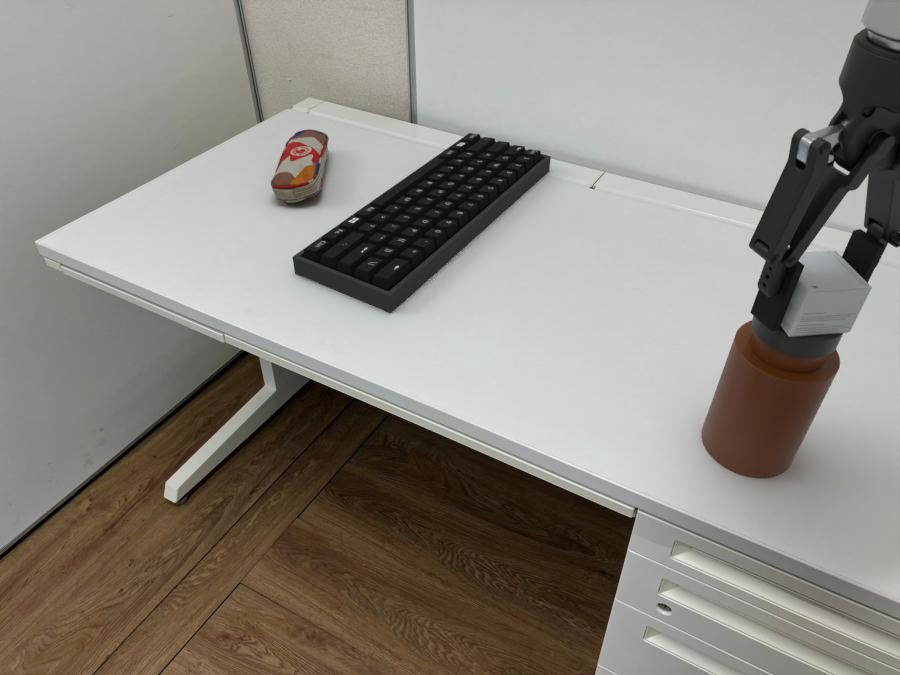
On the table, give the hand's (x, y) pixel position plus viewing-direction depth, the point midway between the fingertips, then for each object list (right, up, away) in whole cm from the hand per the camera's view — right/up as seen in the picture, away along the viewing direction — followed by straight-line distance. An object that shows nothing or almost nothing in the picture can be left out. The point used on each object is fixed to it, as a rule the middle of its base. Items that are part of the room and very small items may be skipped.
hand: (803, 310), depth 61 cm
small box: (0, -1, 0) cm, 1 cm away
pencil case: (-54, +24, +54) cm, 80 cm away
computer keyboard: (-33, +16, +45) cm, 58 cm away
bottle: (0, -13, +11) cm, 17 cm away
